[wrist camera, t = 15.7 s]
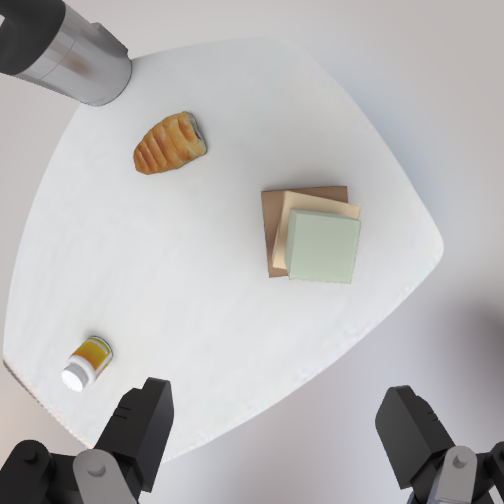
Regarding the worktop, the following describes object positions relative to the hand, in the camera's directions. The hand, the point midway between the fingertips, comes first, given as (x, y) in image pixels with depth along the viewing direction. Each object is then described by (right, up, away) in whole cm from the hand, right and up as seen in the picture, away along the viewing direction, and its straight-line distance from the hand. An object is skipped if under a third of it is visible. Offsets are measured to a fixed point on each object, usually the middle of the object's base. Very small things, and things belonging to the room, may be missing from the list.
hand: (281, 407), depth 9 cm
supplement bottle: (-27, -11, +32) cm, 43 cm away
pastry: (-11, +19, +25) cm, 33 cm away
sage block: (+5, +7, +20) cm, 22 cm away
